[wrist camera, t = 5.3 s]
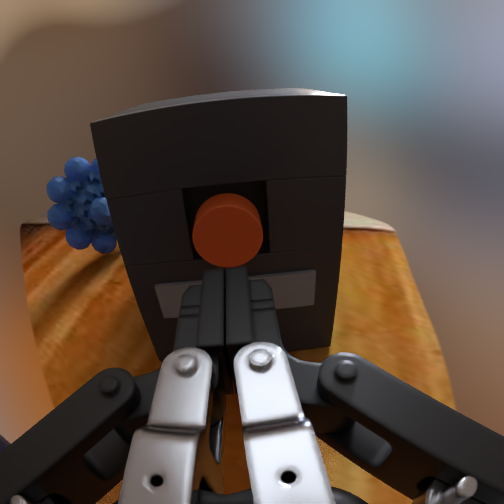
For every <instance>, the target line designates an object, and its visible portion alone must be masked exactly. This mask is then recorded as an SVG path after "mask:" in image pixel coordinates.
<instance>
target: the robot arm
mask: <svg viewBox="0 0 504 504" xmlns="http://www.w3.org/2000/svg"><path fill="white" fill-rule="evenodd" d="M233 383H234V388H235V393H236V394H237V393H238V399H239V406H240V413H241V419H242V427H243V438H244V445H245V451H246V458H247V464H248V470H249V476H250V482H251V489H248V490H244V491H241V492H237V493H233V494H229V495H224V476H223V454H224V439H225V425H226V412H225V411H226V394H233ZM315 435H316V436H317V437H318V438H319V439H321V440H322V441H324V442H325V443H326V444H328V445H329V446H330V447H332V448H333V449H335V450H336V451H337V452H339V453H340V454H342V455H343V456H345V457H346V458H347V459H349V460H350V461H352V462H353V463H355V464H356V465H358V466H359V467H361V468H362V469H364V470H365V471H367V472H368V473H370V474H371V475H373V476H374V477H376V478H378V479H379V480H381V481H382V482H384V483H385V484H387V485H389V486H390V487H392V488H394V489H395V490H397V491H399V492H400V493H402V494H404V495H405V496H407V497H409V498H410V499H412V500H413V503H412V504H504V436H502V435H500V434H498V433H496V432H494V431H492V430H490V429H488V428H487V427H484V426H483V425H481V424H479V423H477V422H475V421H473V420H472V419H470V418H468V417H466V416H464V415H462V414H460V413H459V412H457V411H455V410H453V409H451V408H450V407H448V406H446V405H444V404H442V403H441V402H439V401H437V400H435V399H433V398H432V397H430V396H428V395H426V394H424V393H423V392H421V391H419V390H417V389H416V388H414V387H412V386H410V385H409V384H407V383H405V382H403V381H402V380H400V379H398V378H396V377H395V376H393V375H391V374H389V373H388V372H386V371H384V370H383V369H381V368H379V367H377V366H376V365H374V364H372V363H371V362H369V361H367V360H366V359H364V358H362V357H360V356H358V355H356V354H353V353H346V352H342V353H336V354H333V355H331V356H329V357H327V358H326V359H325V360H324V361H323V362H322V363H316V362H308V361H303V360H299V359H297V358H295V357H293V356H291V355H290V354H289V353H288V352H287V351H286V350H285V349H284V347H283V345H282V341H281V335H280V330H279V325H278V319H277V314H276V309H275V303H274V298H273V292H272V287H271V286H270V285H269V284H268V283H267V282H266V281H265V280H264V279H257V280H248V272H247V266H240V267H229V268H226V272H225V268H218V269H207V270H203V277H202V285H190V286H189V287H188V288H187V290H186V291H185V292H184V294H183V295H182V299H181V305H180V311H179V318H178V323H177V329H176V335H175V342H174V349H173V352H172V353H170V354H169V355H168V356H167V357H166V358H165V359H164V361H163V363H162V366H161V368H159V369H158V370H156V371H153V372H150V373H147V374H143V375H140V376H136V377H132V375H131V374H130V373H129V372H128V371H126V370H124V369H122V368H109V369H105V370H103V371H101V372H99V373H98V374H97V375H95V376H94V377H93V378H92V379H91V380H89V381H88V382H87V383H86V384H84V385H83V386H82V387H81V388H79V389H78V390H77V391H76V392H75V393H73V394H72V395H71V396H70V397H68V398H67V399H66V400H65V401H63V402H62V403H61V404H60V405H59V406H57V407H56V408H55V409H54V410H52V411H51V412H50V413H49V414H47V415H46V416H45V417H44V418H43V419H41V420H40V421H39V422H38V423H37V424H35V425H34V426H33V427H32V428H30V429H29V430H28V431H27V432H25V433H24V434H23V435H22V436H21V437H19V438H18V439H17V440H16V441H14V442H13V443H12V444H11V445H10V446H8V447H7V448H6V449H5V450H3V451H2V452H1V453H0V504H95V503H96V502H98V501H99V500H100V499H101V498H102V497H103V496H104V495H106V494H107V493H108V492H109V491H110V490H111V489H112V488H113V487H115V486H116V485H117V484H118V483H119V482H120V481H121V480H122V479H123V482H122V486H121V491H120V496H119V500H117V501H116V502H114V503H113V504H368V503H366V502H365V501H364V500H362V499H361V498H359V497H358V496H356V495H354V494H352V493H350V492H347V491H345V490H342V489H339V488H335V487H331V486H330V482H329V479H328V476H327V472H326V469H325V466H324V462H323V459H322V456H321V452H320V449H319V446H318V442H317V439H316V436H315Z"/></svg>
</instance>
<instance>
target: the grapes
mask: <svg viewBox="0 0 504 504" xmlns="http://www.w3.org/2000/svg"><path fill="white" fill-rule="evenodd" d="M64 171H65V175H66V177H67V178H65V177H63V176H59V177H53V178H52V179H51V180H50V181H49V182H48V184H47V194H48V196H49V198H50V199H51V200H52V201H54V202H56V203H58V204H55V205H53V206H52V207H51V208H50V209H49V211H48V221H49V223H50V224H51V226H53V227H54V228H56V229H58V230H66V229H68V230H67V231H66V241H67V242H68V244H69V245H70V246H72V247H74V248H75V249H77V250H80V249H85V248H87V247H88V246H89V245H90V244H91V242H92V246H93V247H94V249H95V250H97V251H98V252H100V253H102V254H105V253H110V252H112V251H113V250H114V249H115V247H116V244H117V242H116V234H115V231H114V227H113V223H112V220H111V216H110V212H109V208H108V204H107V199H106V197H105V193H104V189H103V185H102V181H101V176H100V172H99V167H98V162H97V158H96V159H95V160H94V161H93V162H92V167H91V166H90V164H89V163H88V162H87V160H86V159H84V158H81V157H74V158H71V159H69V160H68V161H67V163H66V164H65V170H64Z"/></svg>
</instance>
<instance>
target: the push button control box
mask: <svg viewBox="0 0 504 504" xmlns="http://www.w3.org/2000/svg"><path fill="white" fill-rule="evenodd" d="M90 126H91V132H92V137H93V142H94V148H95V153H96V158H97V162H98V167H99V172H100V176H101V181H102V185H103V189H104V193H105V197H106V199H107V204H108V208H109V212H110V216H111V220H112V223H113V227H114V231H115V234H116V238H117V241H118V244H119V248H120V251H121V254H122V258H123V261H124V264H125V268H126V271H127V274H128V277H129V280H130V283H131V286H132V289H133V292H134V295H135V298H136V301H137V304H138V306H139V309H140V312H141V315H142V317H143V320H144V323H145V325H146V328H147V330H148V333H149V336H150V338H151V341H152V343H153V346H154V348H155V351H156V353H157V356H158V358H159V360H160V361H164V359H165V358H166V357H167V356H168V355H169V354H170V353H172V352H173V349H174V342H175V335H176V329H177V323H178V318H179V311H180V305H181V299H182V295H183V294H184V292H185V291H186V290H187V288H188V287H189V286H190V285H202V277H203V270H207V269H218V268H225V272H226V268H229V267H219V266H216V265H213V264H211V263H209V262H207V261H206V260H204V259H203V258H202V257H201V256H200V255H199V254H198V252H197V251H196V249H195V247H194V244H193V238H192V234H193V228H194V223H195V219H196V215H197V212H198V210H199V208H200V207H201V205H202V204H203V203H204V202H205V201H206V200H208V199H209V198H211V197H213V196H215V195H218V194H223V193H232V194H237V195H240V196H243V197H245V198H246V199H248V200H249V201H250V202H251V203H252V204H253V205H254V206H255V207H256V209H257V211H258V213H259V217H260V221H261V226H262V231H263V241H262V245H261V247H260V249H259V251H258V253H257V254H256V255H255V256H254V257H253V258H252V259H251V260H250V261H248V262H246V263H245V264H242V265H240V266H247V272H248V280H257V279H264V280H265V281H266V282H267V283H268V284H269V285H270V286H271V287H272V292H273V298H274V303H275V309H276V314H277V319H278V325H279V330H280V335H281V341H282V345H283V347H284V349H285V350H286V351H295V350H303V349H311V348H318V347H325V346H330V345H331V338H332V331H333V323H334V316H335V308H336V300H337V291H338V282H339V272H340V262H341V251H342V237H343V224H344V208H345V189H346V167H347V96H346V95H340V94H334V93H328V92H322V91H316V90H309V89H302V88H285V89H284V88H282V89H260V90H245V91H233V92H222V93H214V94H204V95H197V96H189V97H182V98H175V99H169V100H163V101H157V102H151V103H147V104H142V105H139V106H136V107H133V108H130V109H127V110H124V111H122V112H119V113H116V114H113V115H110V116H108V117H105V118H102V119H100V120H97V121H94V122H92V123H90ZM240 266H236V267H240Z"/></svg>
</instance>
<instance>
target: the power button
mask: <svg viewBox="0 0 504 504" xmlns="http://www.w3.org/2000/svg"><path fill="white" fill-rule="evenodd" d="M192 238H193V244H194V247H195V249H196V251H197V252H198V254H199V255H200V256H201V257H202V258H203V259H204V260H206V261H207V262H209V263H211V264H213V265H216V266H219V267H236V266H240V265H242V264H245V263H246V262H248V261H250V260H251V259H252V258H253V257H254V256H255V255H256V254H257V253H258V251H259V249H260V247H261V245H262V241H263V231H262V226H261V221H260V217H259V213H258V211H257V209H256V207H255V206H254V205H253V204H252V203H251V202H250V201H249V200H248V199H246V198H245V197H243V196H240V195H237V194H232V193H223V194H218V195H215V196H213V197H211V198H209V199H208V200H206V201H205V202H204V203H203V204H202V205H201V207H200V208H199V210H198V212H197V215H196V219H195V223H194V228H193V234H192Z"/></svg>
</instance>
